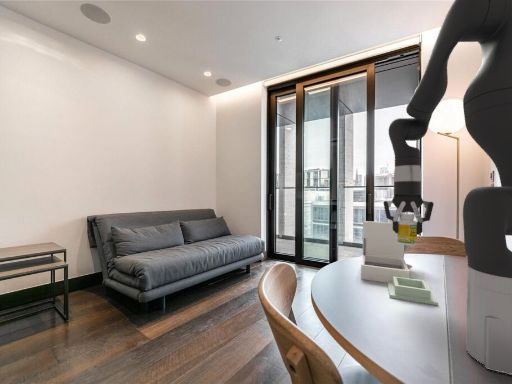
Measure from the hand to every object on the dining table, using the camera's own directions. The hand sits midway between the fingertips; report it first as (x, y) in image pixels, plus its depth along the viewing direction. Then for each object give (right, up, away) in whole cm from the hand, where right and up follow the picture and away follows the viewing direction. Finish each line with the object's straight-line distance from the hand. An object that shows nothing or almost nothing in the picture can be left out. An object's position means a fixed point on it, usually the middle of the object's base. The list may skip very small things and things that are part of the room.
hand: (407, 233), depth 79 cm
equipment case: (0, -18, +15) cm, 24 cm away
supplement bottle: (0, -4, 0) cm, 4 cm away
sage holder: (0, -19, -2) cm, 19 cm away
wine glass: (+15, -18, +27) cm, 36 cm away
